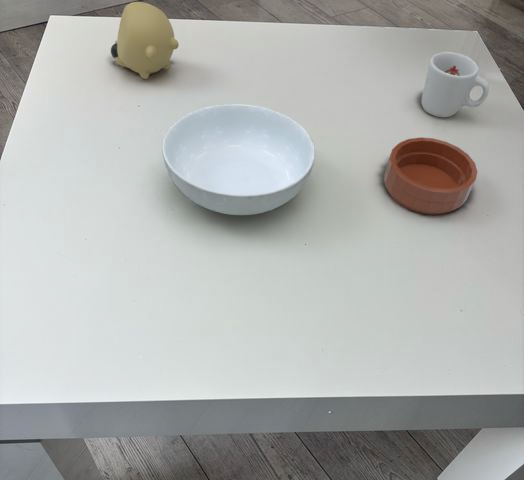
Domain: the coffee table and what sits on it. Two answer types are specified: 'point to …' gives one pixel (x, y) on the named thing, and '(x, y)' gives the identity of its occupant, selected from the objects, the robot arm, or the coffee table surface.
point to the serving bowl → (238, 158)
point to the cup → (451, 84)
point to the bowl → (429, 175)
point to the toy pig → (144, 39)
